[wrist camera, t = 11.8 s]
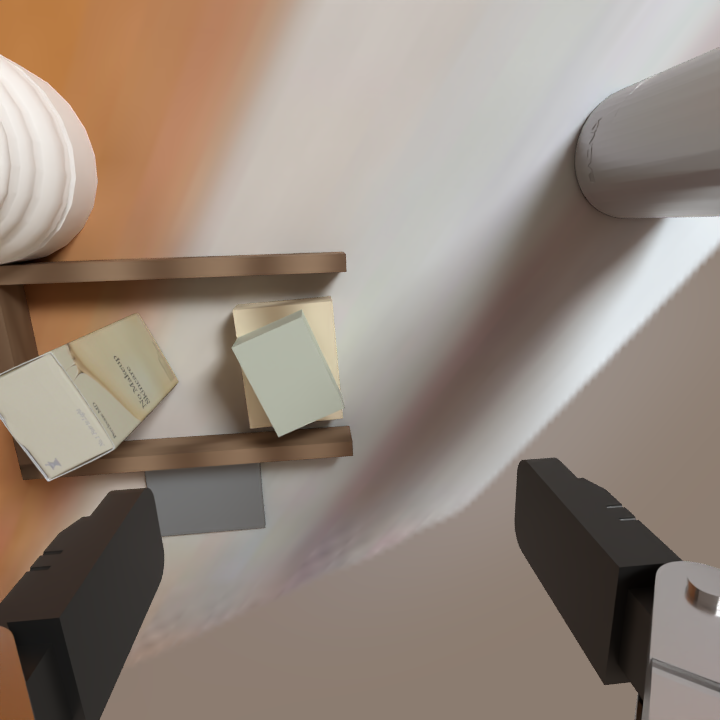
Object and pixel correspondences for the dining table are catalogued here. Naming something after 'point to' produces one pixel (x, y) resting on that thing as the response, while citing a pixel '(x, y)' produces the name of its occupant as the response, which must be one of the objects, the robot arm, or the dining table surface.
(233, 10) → the dining table surface
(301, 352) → the offcut upper
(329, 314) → the offcut lower
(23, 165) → the honey pot
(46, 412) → the skincare box
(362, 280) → the dining table surface
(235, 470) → the felt mat
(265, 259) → the rack
